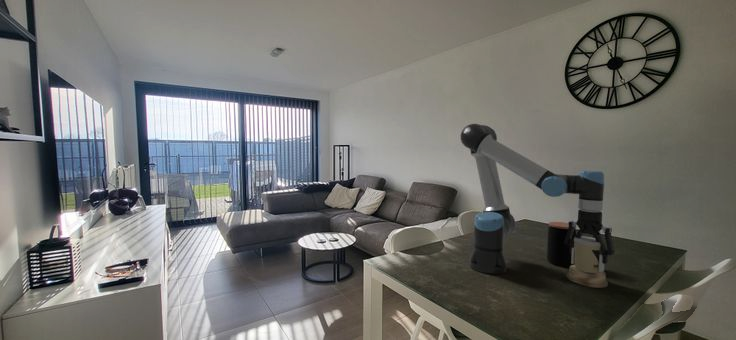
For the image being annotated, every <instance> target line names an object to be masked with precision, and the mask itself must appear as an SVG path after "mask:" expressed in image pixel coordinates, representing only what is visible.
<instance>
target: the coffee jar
mask: <svg viewBox="0 0 736 340" xmlns="http://www.w3.org/2000/svg"><path fill="white" fill-rule="evenodd" d="M548 226H549V227H548V228H547V244H546V245H547V248H546V259H547V261H548V262H549V264H551V265H554V266H557V267H561V268H562V267H563V268H569V267H570V266H571V265H575V264H571V256H572V255H570V254H569V246H568V245H567V244H564V242H565V238H566V235H567V232H568V228H569V224H568V222H563V221H549V222H548ZM576 229H577V226H576V227H575V229H574V232H573V235H572V239H571V241H572V240H573V238H574V237H575V236H576V234H577V231H576Z"/></svg>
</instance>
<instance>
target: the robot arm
mask: <svg viewBox="0 0 736 340" xmlns="http://www.w3.org/2000/svg"><path fill="white" fill-rule="evenodd" d="M460 141H461V143H462V145H463V146H464V147H465V148H468V149H469V151H470V155H471V156H472V157H474V158H475V163H476V168H477V172H478V177H479V181H480V182H479V183H480V188H481V192H482V197H483V201H484V208H483V210H482V212H479V213H477V214H476V215H475V217H474V236H473V250H472V252H471V255H470V257H469V260H468V261H469V263H468V264H469V265H468V266H469V267H470V268H471V269H472V270H474V271H477V272H480V273H483V274H488V275H489V274H491V275H501V274H504V273H506V272H507V270H508V269H507V267H508V266H507V265H508V264H507V261H506V258H505V254H504V252H503V251H504V249H503V248H504V239H505V238H506V237H508V236H509V235H511V234H512V233H513V231H515V227H516V220H515V218H514V215H512V214H511V212H510V206H508V205H506V204H505V200H504V199H505V198H504V194H503V190H502V185H501V180H500V176H499V170H498V167H497V164H499V165H501V166H503V167H504V168H505V169H507V170H509V171H511V173H514V174H515V175H517V176H519V177H520V178H522V179H524V180H526V181H527V182H529V183H530V184H532V185H534V186H536V188H538V189H540V190H541V191H542V192H543V194H544V195H546V196H549V197H551V198H553V197H554V198H555V197H557V198H558V197H560V196H563V195H564V194H573V195H578V206H577V207H578V210H577V221H574V220H570V221H568V222H567V223H568V224H569V228H568V232H567V235H566V238H565V242H564V244H567V245H568V246H569V254H570V255H572V256H571V264H574V265H575V252H574V239H575V237H576V238H580V237H581V236H583V235H584V234H586V235H590V236H592V238H595V240H596V242H600V245H601V246H600V250H601V252H602V254H600V257H599V272H602V271H603V272H605V264H608V261H609V256H613V255H615V253H616V252H615V248H614V242H613V237H612V231H613V228H612V227H607V226H603V212H602V211H603V205H604V193H605V192H604V190H605V174H604V172H602V171H599V170H581V171H580V172H579V175H572V174H571V175H570V174H556V173H554V172H552V171H550V170H549V169H547V168H546V167H543V166H541V165H540V164H538V163H537V162H534V161H532V160H531V159H529V158H527V157H526V156H524V155H522V154H520V153H518V151H515V150H513V149H511V148H510V147H508V146H507V145H504V144H503V143H501V142H499V141H498V135H497V133H496V131H495V130H494V129H493V128H492V127H490V126H489V125H484V124H478V123H471V124H470V123H469V124H468V125H466V126H465V127H463V128H462V130H461V133H460ZM575 227H576V228H578V231H576V236H575V237H574V238H573V240H572V241H571V239H572V235H573V232H574V229H575ZM575 230H576V229H575ZM600 231H602V232H603V233H604V240H605V242H604V240H603V239H602V236H601V232H600ZM605 243H606V244H605Z"/></svg>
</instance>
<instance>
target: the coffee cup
mask: <svg viewBox="0 0 736 340" xmlns="http://www.w3.org/2000/svg"><path fill="white" fill-rule="evenodd" d="M600 246H601V245H600V242H596V240H595V238H594V237H593V236H592V237H591V236H583V235H582V236H581V237H580V238H576V237H575V239H574V252H575V264H574V265H575V268H576V269H578V270H581V271H584V272H588V273H599V257H600V254H602V252H601V250H600Z"/></svg>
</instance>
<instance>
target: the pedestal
mask: <svg viewBox="0 0 736 340" xmlns="http://www.w3.org/2000/svg"><path fill="white" fill-rule="evenodd" d="M568 268H569V271H568V273H567V274H566V278H567V279H568V280H570V281H571V282H573V283H575V284H578V285H581V286H583V287H589V288H595V289H596V288H597V289H599V288H600V289H603V288H607V287H608V285H609V282H608V281H607V280H606V279H607V276H606V275H607V273H606V272H605V271H602V272H599V273H588V272H584V271H581V270H578V269H576V268H575V264H574V265H571V266H570V267H568Z"/></svg>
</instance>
